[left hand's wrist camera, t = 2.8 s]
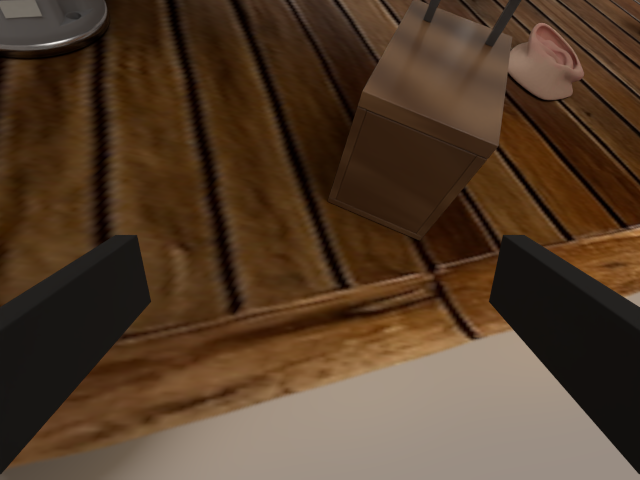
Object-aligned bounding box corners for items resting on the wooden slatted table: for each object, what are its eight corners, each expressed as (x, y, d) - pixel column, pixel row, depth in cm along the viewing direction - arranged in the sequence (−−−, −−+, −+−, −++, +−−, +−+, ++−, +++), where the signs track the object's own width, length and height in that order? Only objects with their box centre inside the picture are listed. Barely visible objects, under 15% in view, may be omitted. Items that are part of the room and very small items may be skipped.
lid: (408, 12, 32) (456, -117, 24) (504, 49, 31) (581, -71, 24) (357, 106, 23) (406, -50, 16) (487, 159, 23) (600, 24, 15)
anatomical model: (581, 85, 44) (505, 41, 47) (558, 110, 47) (488, 68, 50) (606, 53, 50) (538, 16, 53) (584, 78, 54) (521, 41, 57)
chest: (372, 111, 40) (407, 15, 31) (446, 141, 40) (503, 53, 31) (327, 201, 32) (357, 106, 23) (419, 241, 32) (487, 159, 23)
